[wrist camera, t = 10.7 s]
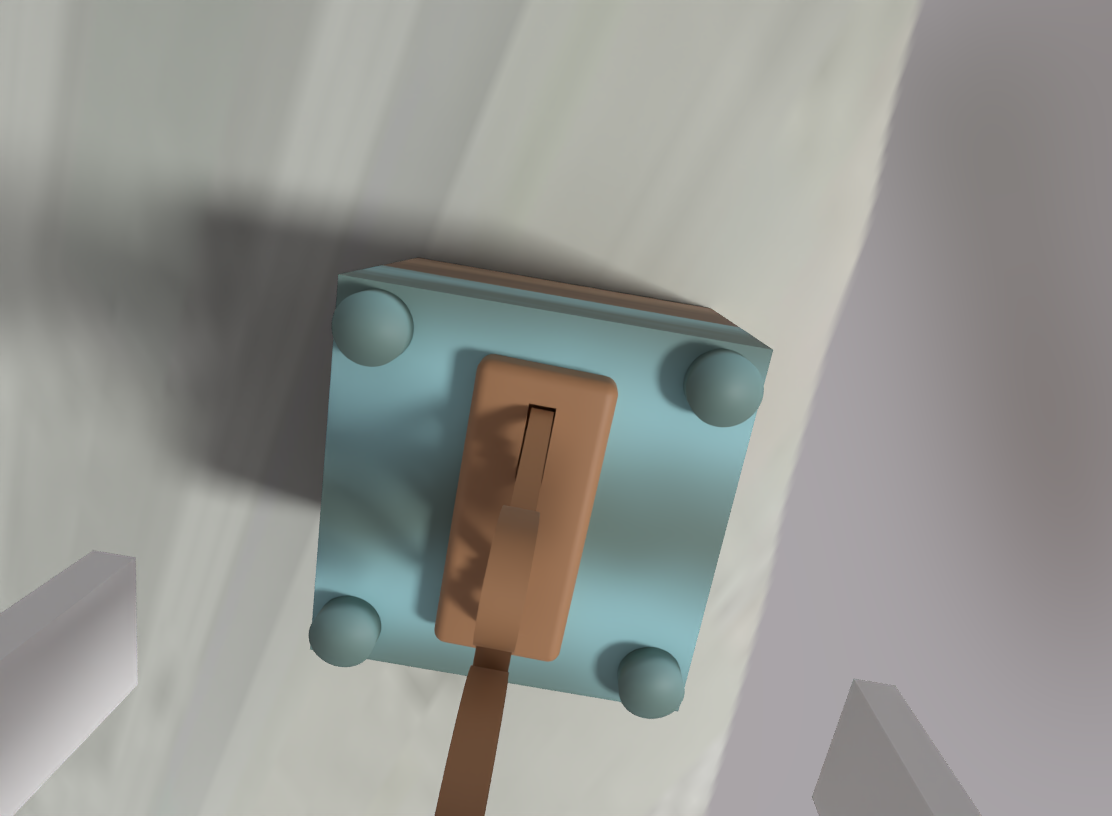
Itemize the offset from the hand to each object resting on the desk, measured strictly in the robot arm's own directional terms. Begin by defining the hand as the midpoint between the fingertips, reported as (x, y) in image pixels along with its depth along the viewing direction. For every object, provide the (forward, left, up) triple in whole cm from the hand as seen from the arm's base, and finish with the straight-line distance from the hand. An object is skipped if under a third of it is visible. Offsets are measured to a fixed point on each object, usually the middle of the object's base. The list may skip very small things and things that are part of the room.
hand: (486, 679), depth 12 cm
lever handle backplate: (0, 0, -8) cm, 8 cm away
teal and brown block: (0, 0, -17) cm, 17 cm away
